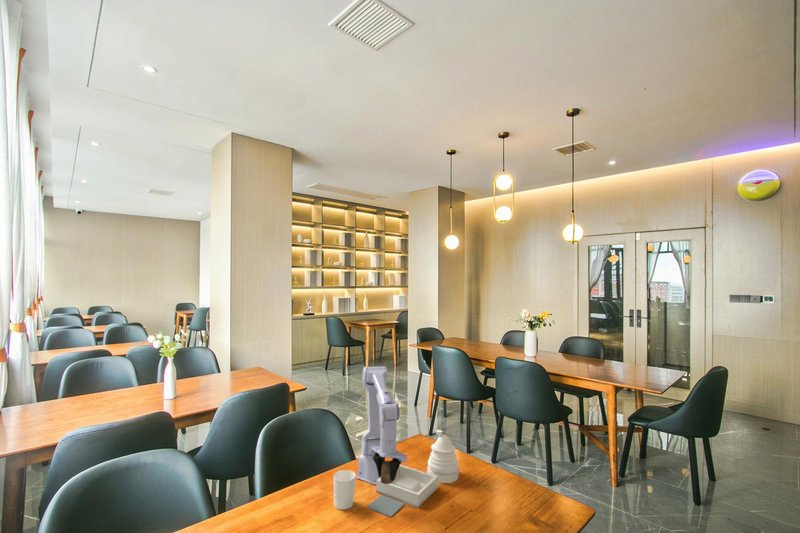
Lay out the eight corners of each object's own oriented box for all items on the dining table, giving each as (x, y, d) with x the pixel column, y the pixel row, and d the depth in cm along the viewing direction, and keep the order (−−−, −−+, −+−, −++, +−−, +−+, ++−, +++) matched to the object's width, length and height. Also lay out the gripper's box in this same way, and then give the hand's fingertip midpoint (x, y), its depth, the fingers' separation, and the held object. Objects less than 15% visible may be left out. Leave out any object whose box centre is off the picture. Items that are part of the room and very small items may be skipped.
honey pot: (424, 481, 151) (426, 435, 153) (429, 466, 164) (431, 424, 165) (457, 486, 148) (458, 439, 150) (459, 471, 161) (460, 428, 162)
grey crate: (376, 492, 142) (376, 480, 142) (398, 475, 155) (398, 464, 156) (418, 508, 132) (418, 494, 133) (437, 488, 146) (437, 476, 146)
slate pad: (366, 507, 131) (366, 506, 131) (381, 496, 139) (381, 495, 139) (391, 517, 126) (391, 516, 126) (404, 504, 134) (404, 503, 134)
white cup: (358, 501, 135) (359, 472, 136) (348, 513, 128) (349, 482, 129) (338, 496, 138) (340, 468, 139) (328, 507, 131) (329, 478, 131)
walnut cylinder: (378, 481, 133) (379, 463, 133) (385, 476, 136) (386, 459, 137) (388, 485, 130) (389, 467, 131) (395, 480, 134) (396, 462, 135)
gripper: (365, 437, 135) (363, 476, 134) (399, 447, 127) (398, 488, 126) (376, 431, 141) (375, 468, 140) (410, 440, 133) (408, 480, 132)
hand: (386, 477), depth 133 cm, fingers closed on walnut cylinder, 4 cm apart
